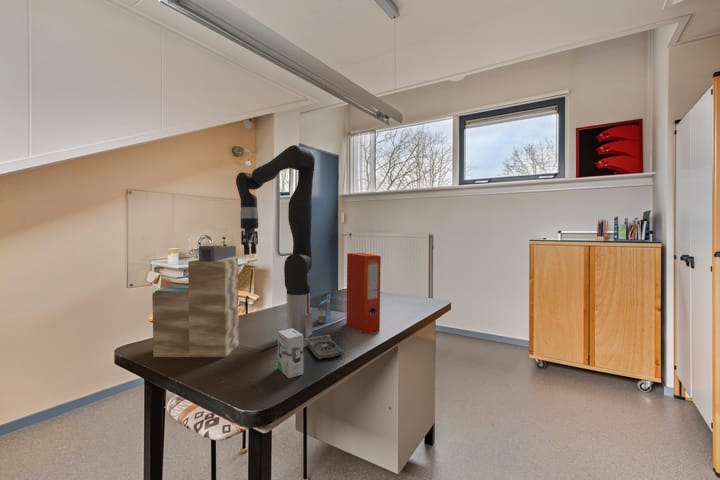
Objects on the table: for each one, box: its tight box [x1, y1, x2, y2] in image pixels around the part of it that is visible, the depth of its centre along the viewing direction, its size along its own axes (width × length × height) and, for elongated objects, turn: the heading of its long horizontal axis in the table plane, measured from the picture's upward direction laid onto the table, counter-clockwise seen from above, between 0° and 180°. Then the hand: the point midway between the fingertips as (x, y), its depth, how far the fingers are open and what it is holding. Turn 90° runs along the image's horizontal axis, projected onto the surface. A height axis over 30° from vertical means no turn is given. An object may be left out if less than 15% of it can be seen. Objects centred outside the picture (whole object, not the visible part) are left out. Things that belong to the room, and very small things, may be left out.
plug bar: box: [198, 245, 237, 261], centre depth 120 cm, size 22×5×5 cm, turn 0°
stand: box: [151, 257, 240, 358], centre depth 115 cm, size 12×24×32 cm, turn 90°
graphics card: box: [303, 334, 344, 360], centre depth 115 cm, size 17×4×12 cm
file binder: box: [346, 252, 382, 335], centre depth 143 cm, size 8×17×32 cm, turn 25°
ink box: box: [277, 328, 304, 379], centre depth 99 cm, size 9×5×12 cm, turn 36°
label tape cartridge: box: [317, 292, 332, 324], centre depth 154 cm, size 9×4×12 cm, turn 172°
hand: (250, 254), depth 147 cm, fingers open, 8 cm apart
